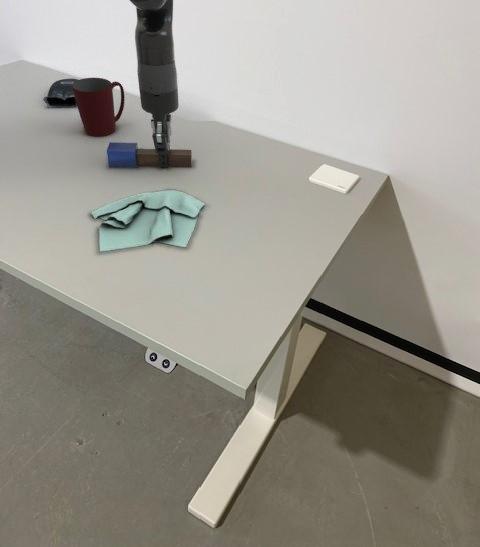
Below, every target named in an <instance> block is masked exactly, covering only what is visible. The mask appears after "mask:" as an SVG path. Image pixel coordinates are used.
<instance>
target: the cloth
mask: <svg viewBox="0 0 480 547" xmlns="http://www.w3.org/2000/svg"><path fill="white" fill-rule="evenodd" d="M205 205H206V204H205V203H204V202H203V201H201V200H199V199H197V197H194V196H192V195H190V194H188V193H185V192H182V191H178V190H176V189H167V190H159V191H156V192H155V191H152V192H142V193H138V194H132V195H130V196H128V197H126V198H121V199H118V200H116V201H114V202H110V203H107V204H104V205H102V206H101V207H100V208H97V209H95V210H93V211H91V215H92V217H93V218H94V219H95V220H96V219H97V218H99V219H101V220H103V221H102V222H101V223H100V224H99V231H98V232H99V238H98V239H99V242H98V243H99V252H100V253H103V252H109V251H115V250H124V249H131V248H136V247H137V248H139V247H143V246H149V245H151V244H152V243H153V242H155V243H161V244H166V245H170V246H174V247H175V246H176V247H179V248H187V246H188V243H189V242H190V239H191V237H192V234H193V232H194V230H195V227H196V225H197V221H198V220H199V219H198V218H199V213H200V210H201V209H202V208H203V207H204V206H205Z"/></svg>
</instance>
